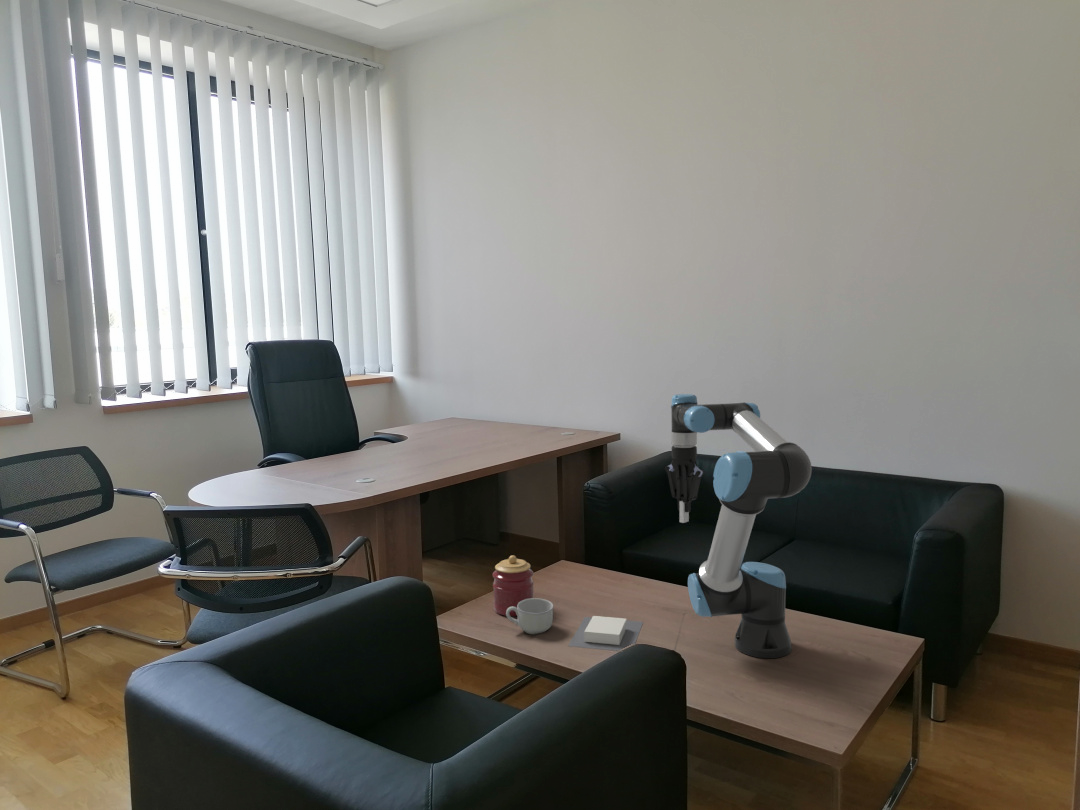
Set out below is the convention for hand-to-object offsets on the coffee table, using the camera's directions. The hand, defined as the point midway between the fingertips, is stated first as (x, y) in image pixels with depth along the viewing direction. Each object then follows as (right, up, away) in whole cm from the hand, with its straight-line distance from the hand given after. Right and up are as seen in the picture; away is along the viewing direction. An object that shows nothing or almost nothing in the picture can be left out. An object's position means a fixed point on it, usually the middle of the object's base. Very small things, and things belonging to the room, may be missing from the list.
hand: (684, 521), depth 241 cm
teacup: (-47, -32, -6) cm, 57 cm away
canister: (-52, -30, +11) cm, 61 cm away
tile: (-23, -29, -7) cm, 38 cm away
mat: (-25, -31, -11) cm, 41 cm away
